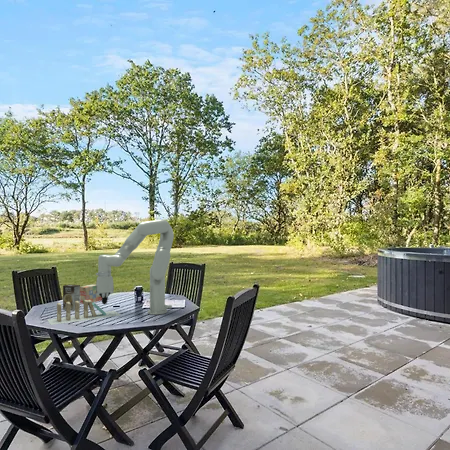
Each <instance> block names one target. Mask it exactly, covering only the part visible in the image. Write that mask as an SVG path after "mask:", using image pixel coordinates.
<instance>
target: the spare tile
mask: <svg viewBox="0 0 450 450" xmlns="http://www.w3.org/2000/svg"><path fill="white" fill-rule="evenodd" d="M92 304H93V307H94V309H96V310H97V311H98V312H99V313H102V314H103V315H106V314H107V313H105V312H106V311H104V310H103V309H102V308H101V307H100V306H99V305H98V304H97V303H96V302H92Z"/></svg>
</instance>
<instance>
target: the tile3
mask: <svg viewBox="0 0 450 450" xmlns="http://www.w3.org/2000/svg"><path fill="white" fill-rule="evenodd" d="M88 314H89V306H88V301H87V300H84V304H83V315H84V317H85V318H88Z"/></svg>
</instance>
